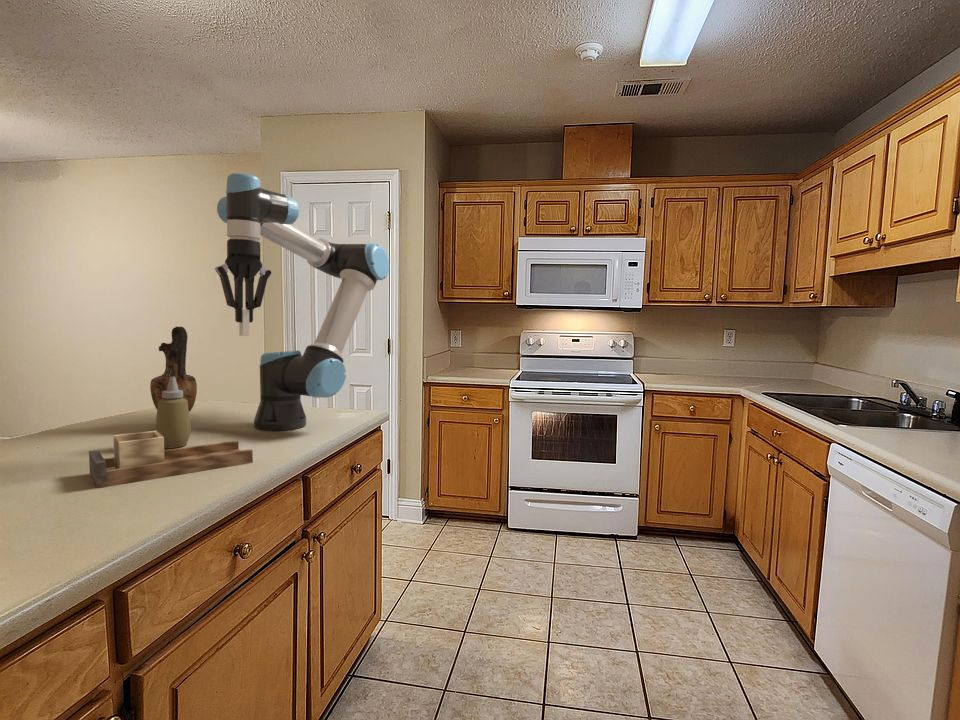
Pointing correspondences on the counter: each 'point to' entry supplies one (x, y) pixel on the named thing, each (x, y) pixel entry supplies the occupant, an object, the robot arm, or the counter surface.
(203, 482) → the counter surface
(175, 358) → the vase
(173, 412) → the squeeze bottle
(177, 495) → the counter surface
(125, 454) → the crate
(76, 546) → the counter surface
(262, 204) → the robot arm
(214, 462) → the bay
